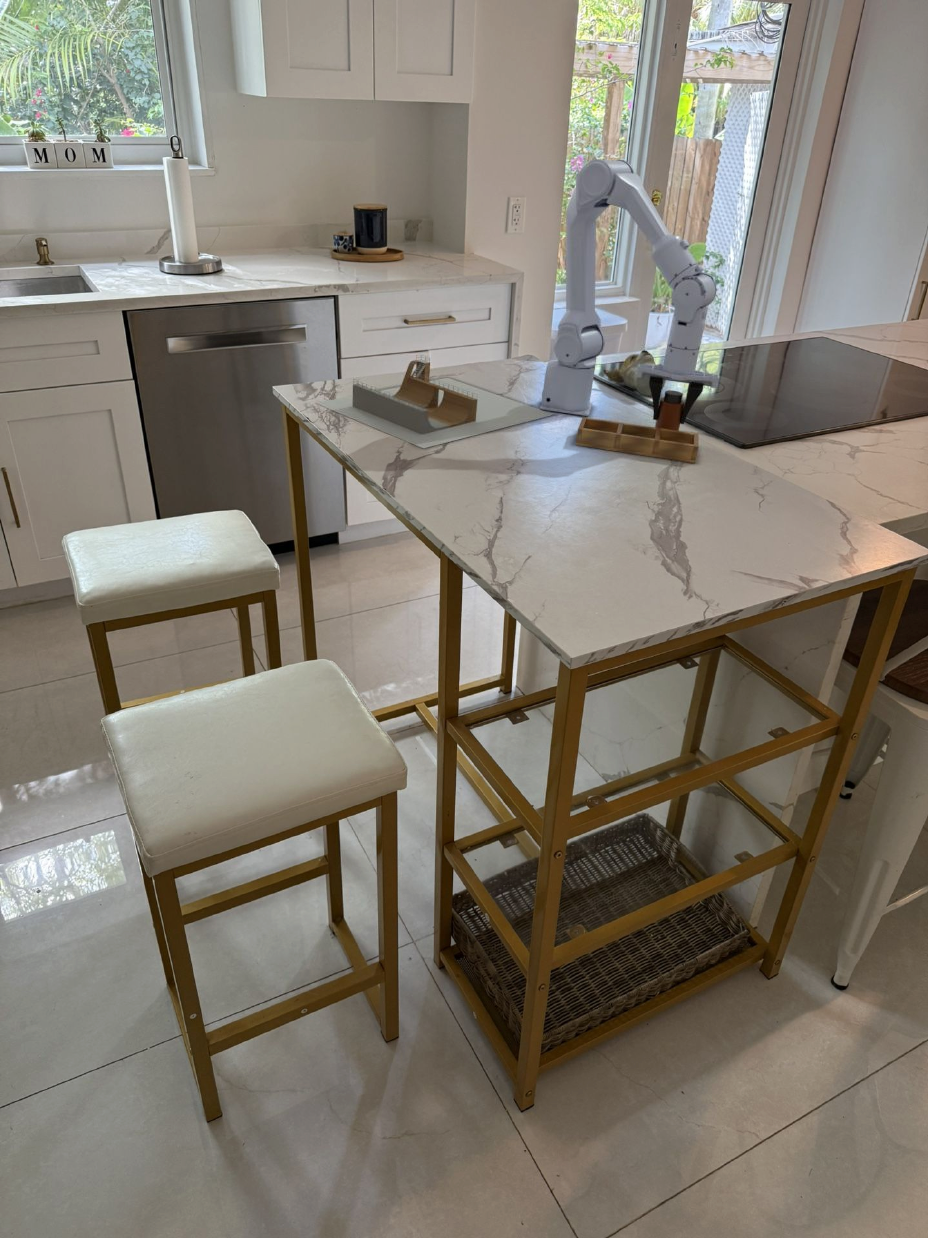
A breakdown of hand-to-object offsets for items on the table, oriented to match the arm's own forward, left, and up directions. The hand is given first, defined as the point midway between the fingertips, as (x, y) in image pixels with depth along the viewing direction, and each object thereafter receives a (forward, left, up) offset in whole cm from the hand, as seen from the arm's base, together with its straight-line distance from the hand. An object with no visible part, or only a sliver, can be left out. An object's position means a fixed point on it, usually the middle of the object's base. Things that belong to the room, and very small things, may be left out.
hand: (668, 420), depth 164 cm
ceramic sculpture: (-7, +30, -3) cm, 31 cm away
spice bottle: (0, 0, -3) cm, 3 cm away
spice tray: (-5, -10, -3) cm, 12 cm away
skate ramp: (-43, -5, -3) cm, 43 cm away
